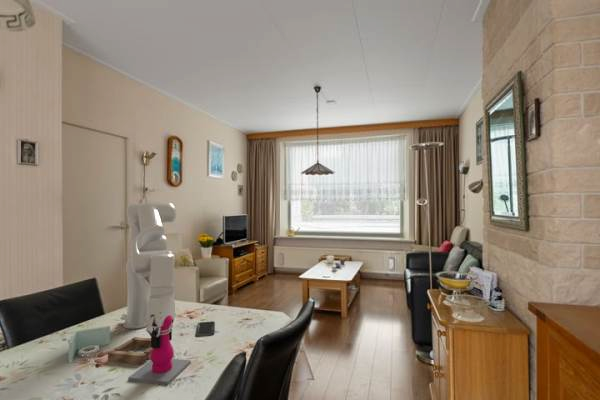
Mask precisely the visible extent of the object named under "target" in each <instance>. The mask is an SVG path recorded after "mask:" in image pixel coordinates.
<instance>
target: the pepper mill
mask: <svg viewBox="0 0 600 400" xmlns="http://www.w3.org/2000/svg"><path fill="white" fill-rule="evenodd" d="M171 324H172V317H171V315H169V316H167V317H166V318H165V320H164V323H163V326H161V330H160V335H159V336H161V348H159V349H156V348H153V350H152V352H151V359H150V361H152V362H153V364H152V371H153V372H154V373H163V372H167V371H169V370H170V369H171V368H172V361H171V359H174V357H175V356H174V355H175V353H174V352H175V351H174V347H173V345H172V343H171V340H169V332H170V331H171V330H170V329H172V328H171V327H170V325H171ZM154 326H157V324H154ZM154 330H155V331H156V332H157V328H155V329H154Z"/></svg>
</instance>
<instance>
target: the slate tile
mask: <svg viewBox="0 0 600 400" xmlns="http://www.w3.org/2000/svg"><path fill="white" fill-rule="evenodd" d="M171 361H172V368H171V369H170V370H169V371H167V372H163V373H154V372H153V371H152V364H153V362H152V361H151V360H149V361H148V362H146V363H145V364H143V365H142V366H141V367H139V368H138V369H137V370H136V371H135V372H133V373H132V374H130V375H129V376H127V380H128V382H129V381H130V382H138V383H139V382H140V383H146V384H147V383H148V384H157V385H166V386H168V385H170V384H171V382H173V381H174V380H175V379H176V378H177V377H178V376H179V375H180V374H181V373H182V372H184V370H185V369H186V368H187V367H188V366H190V364H192V360H190V359H182V358H180V359H179V358H172V359H171Z"/></svg>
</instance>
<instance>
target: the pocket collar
mask: <svg viewBox="0 0 600 400" xmlns="http://www.w3.org/2000/svg"><path fill="white" fill-rule="evenodd" d="M134 348H142V349H145V350H144V351H143V352H134V351H132V350H133V349H134ZM152 350H153V348H151V337H139V336H138V337H137V336H134V337H132V338H131V339H129V340H127V341H125V342H124V343H122V344H120V345H118V346H117V347H115V348H114V349H113V350H110V351H108V352H107V362H110V363H111V362H112V363H122V364H123V363H124V364H132V365H142V366H144V365H145V364H147V363H148V362H149V361H151V352H152ZM147 361H148V362H147Z"/></svg>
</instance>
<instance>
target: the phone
mask: <svg viewBox="0 0 600 400" xmlns="http://www.w3.org/2000/svg"><path fill="white" fill-rule="evenodd" d="M215 324H216V322H215V320H213V321H201V322H198V323H197V326H196V331H195V337H196V338H197V337H210V336H214V335H215V329H216V328H215V326H216V325H215Z"/></svg>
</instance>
